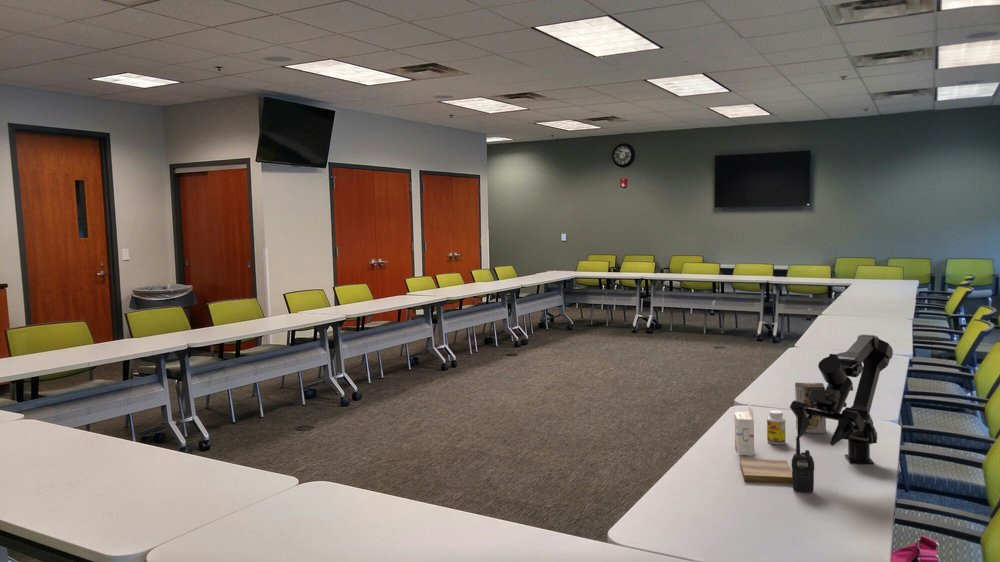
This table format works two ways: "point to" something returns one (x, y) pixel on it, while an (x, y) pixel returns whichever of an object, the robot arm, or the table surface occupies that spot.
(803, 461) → the two-way radio
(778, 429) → the supplement bottle
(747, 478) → the tan flat wooden block
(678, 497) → the table surface
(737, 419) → the ink cartridge box
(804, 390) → the coffee box
